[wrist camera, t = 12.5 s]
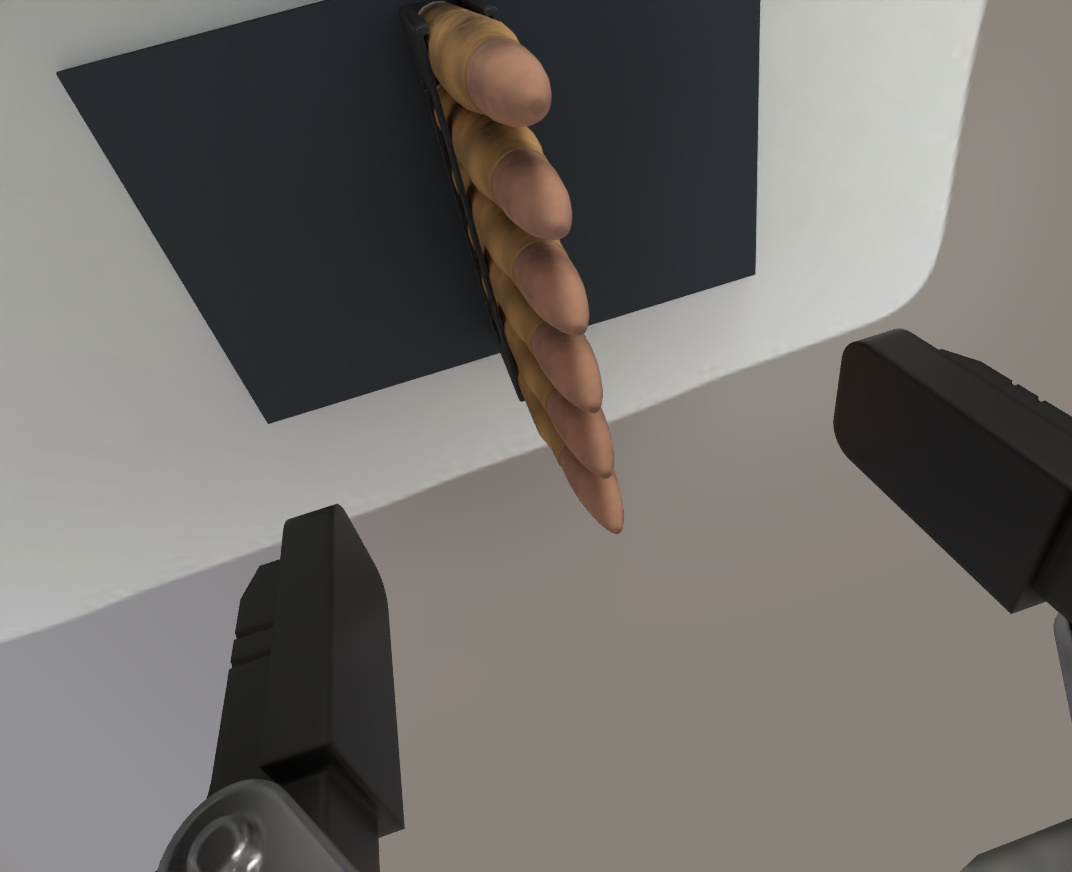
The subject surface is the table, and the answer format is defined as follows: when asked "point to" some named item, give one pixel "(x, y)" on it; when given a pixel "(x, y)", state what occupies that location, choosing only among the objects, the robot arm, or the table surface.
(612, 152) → the desk mat
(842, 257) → the table surface
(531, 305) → the ammunition clip
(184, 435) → the table surface
